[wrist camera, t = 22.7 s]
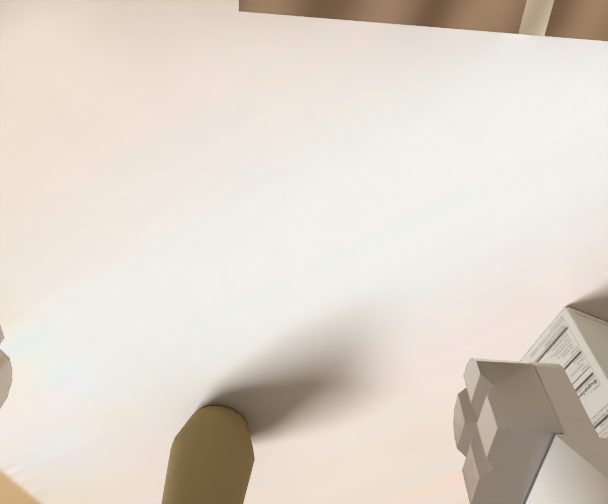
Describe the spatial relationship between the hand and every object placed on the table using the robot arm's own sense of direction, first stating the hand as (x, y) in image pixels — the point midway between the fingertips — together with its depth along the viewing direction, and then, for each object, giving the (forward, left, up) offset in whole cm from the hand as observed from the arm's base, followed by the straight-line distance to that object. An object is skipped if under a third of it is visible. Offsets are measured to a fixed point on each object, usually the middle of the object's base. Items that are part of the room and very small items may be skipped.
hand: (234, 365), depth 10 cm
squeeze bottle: (-6, -39, -33) cm, 52 cm away
